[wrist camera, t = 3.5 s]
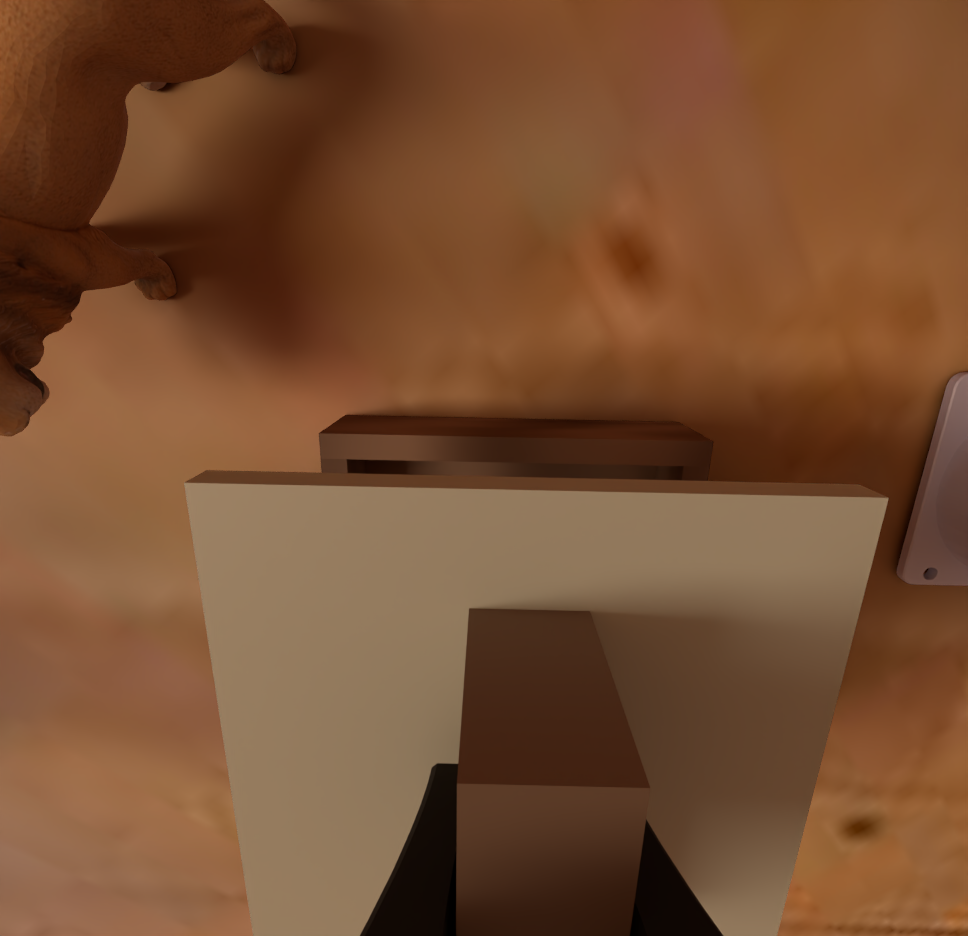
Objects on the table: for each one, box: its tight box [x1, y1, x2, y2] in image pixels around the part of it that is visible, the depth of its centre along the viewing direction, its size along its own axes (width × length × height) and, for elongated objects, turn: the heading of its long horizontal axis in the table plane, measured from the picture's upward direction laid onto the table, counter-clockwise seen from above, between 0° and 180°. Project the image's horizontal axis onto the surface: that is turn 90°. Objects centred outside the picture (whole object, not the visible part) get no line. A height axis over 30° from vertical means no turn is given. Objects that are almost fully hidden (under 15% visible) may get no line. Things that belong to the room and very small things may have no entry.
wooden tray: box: [319, 415, 713, 481], centre depth 19 cm, size 12×12×3 cm
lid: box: [184, 470, 889, 936], centre depth 10 cm, size 13×13×5 cm
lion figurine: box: [0, 0, 296, 436], centre depth 12 cm, size 15×5×9 cm, turn 152°
